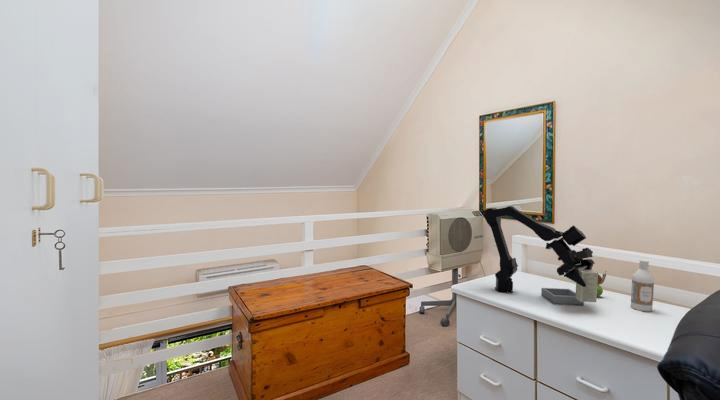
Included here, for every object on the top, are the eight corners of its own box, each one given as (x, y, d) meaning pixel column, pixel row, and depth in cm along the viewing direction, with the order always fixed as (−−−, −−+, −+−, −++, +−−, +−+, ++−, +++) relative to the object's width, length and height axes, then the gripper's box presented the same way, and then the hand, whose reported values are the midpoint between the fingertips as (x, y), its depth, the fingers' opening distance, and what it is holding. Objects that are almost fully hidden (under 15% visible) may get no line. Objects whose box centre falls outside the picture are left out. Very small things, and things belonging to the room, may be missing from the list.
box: (553, 304, 149) (554, 296, 149) (541, 295, 161) (541, 287, 161) (583, 305, 148) (584, 297, 148) (568, 296, 160) (569, 288, 160)
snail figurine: (605, 299, 157) (606, 272, 157) (588, 296, 161) (589, 270, 160) (604, 296, 162) (606, 269, 161) (588, 293, 165) (589, 267, 165)
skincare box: (590, 299, 145) (592, 269, 144) (596, 302, 141) (598, 272, 140) (574, 298, 146) (576, 268, 145) (580, 302, 141) (582, 271, 141)
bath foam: (634, 310, 143) (637, 261, 142) (627, 305, 150) (630, 258, 149) (655, 313, 141) (658, 263, 140) (647, 307, 148) (650, 259, 147)
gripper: (566, 242, 140) (594, 277, 132) (591, 239, 150) (619, 271, 141) (545, 258, 148) (571, 292, 139) (570, 254, 157) (596, 286, 149)
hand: (590, 285), depth 142 cm, fingers closed on skincare box, 7 cm apart
